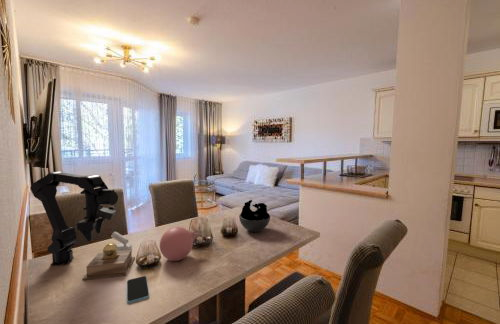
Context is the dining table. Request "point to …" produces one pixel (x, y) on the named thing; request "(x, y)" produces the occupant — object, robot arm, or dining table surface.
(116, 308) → the dining table surface
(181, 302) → the dining table surface
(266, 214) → the bowl of black rocks
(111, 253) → the brass bracket
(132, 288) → the smartphone
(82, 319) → the dining table surface
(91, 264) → the taupe square box
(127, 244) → the white spotlight lamp
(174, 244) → the pink rounded piece
